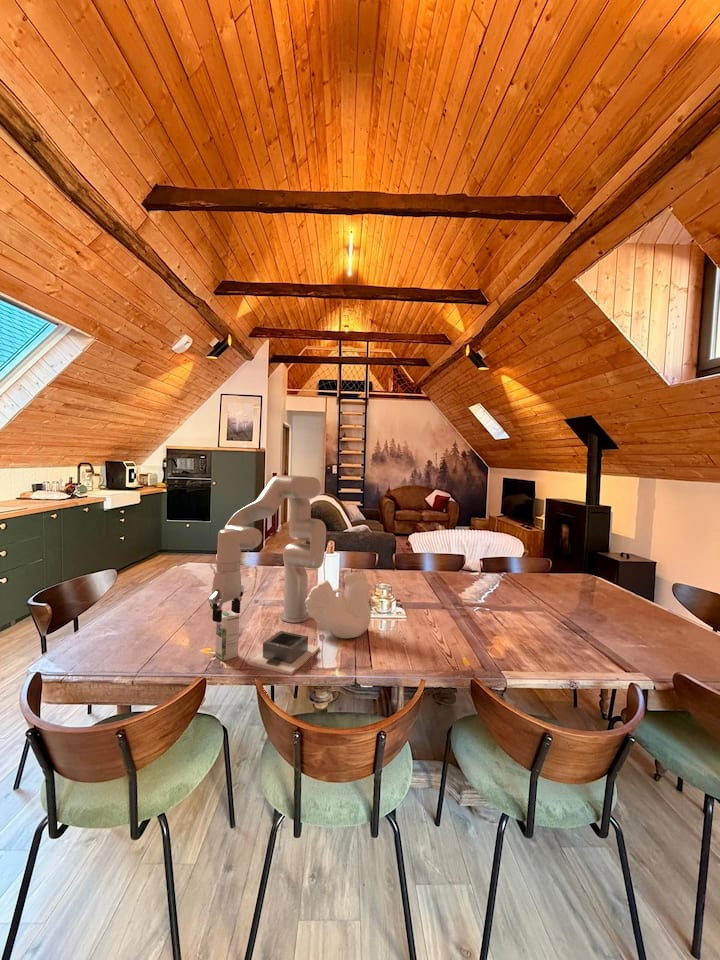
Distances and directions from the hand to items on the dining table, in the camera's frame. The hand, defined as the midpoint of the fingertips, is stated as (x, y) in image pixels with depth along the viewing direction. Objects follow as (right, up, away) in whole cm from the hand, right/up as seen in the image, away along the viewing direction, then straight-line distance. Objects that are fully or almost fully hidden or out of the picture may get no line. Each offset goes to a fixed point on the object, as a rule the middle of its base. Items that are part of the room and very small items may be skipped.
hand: (226, 616), depth 147 cm
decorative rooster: (+36, -14, +24) cm, 45 cm away
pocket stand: (+19, -14, +2) cm, 24 cm away
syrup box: (0, -14, +1) cm, 14 cm away
